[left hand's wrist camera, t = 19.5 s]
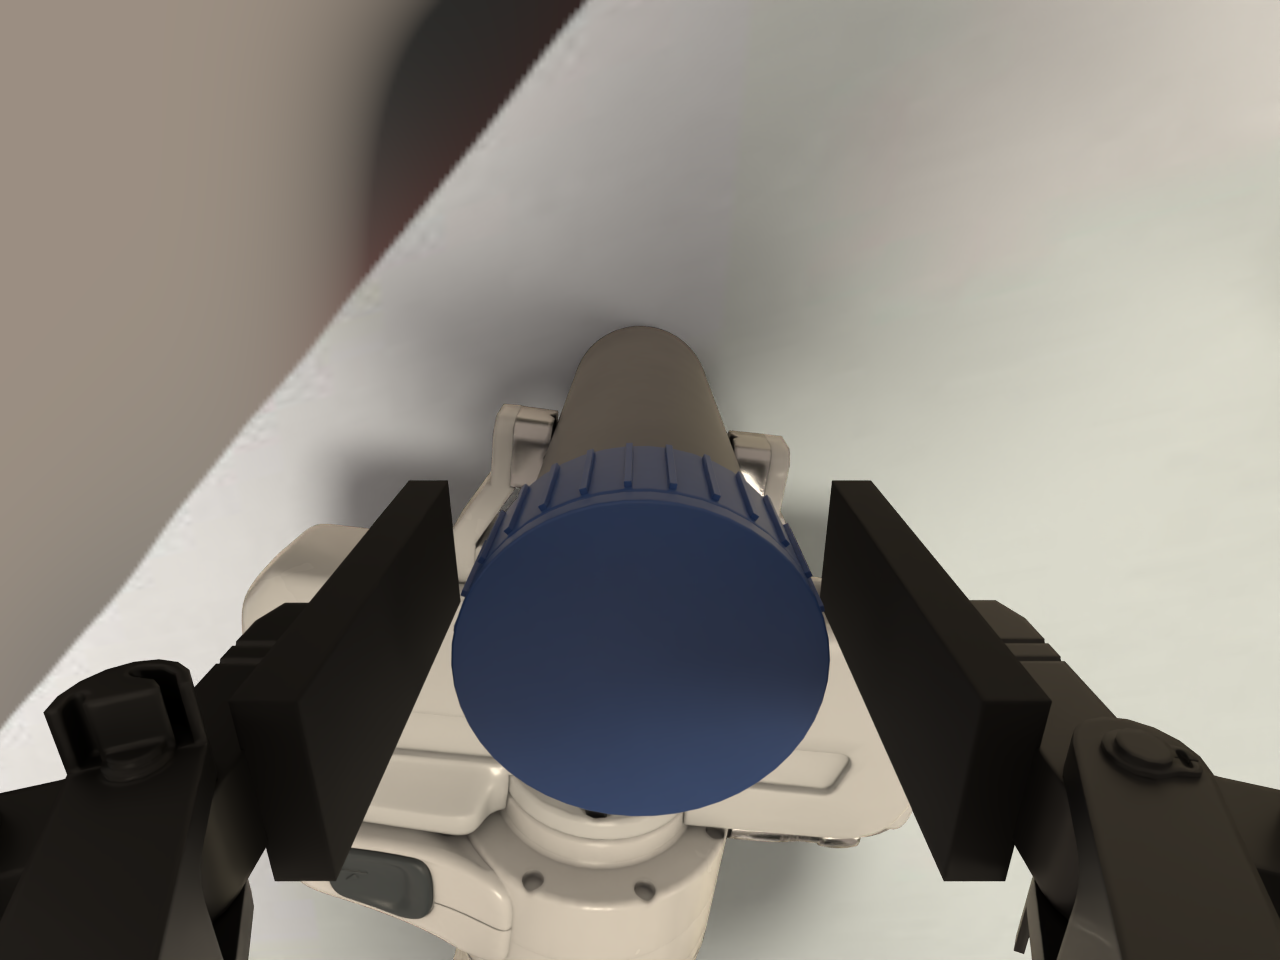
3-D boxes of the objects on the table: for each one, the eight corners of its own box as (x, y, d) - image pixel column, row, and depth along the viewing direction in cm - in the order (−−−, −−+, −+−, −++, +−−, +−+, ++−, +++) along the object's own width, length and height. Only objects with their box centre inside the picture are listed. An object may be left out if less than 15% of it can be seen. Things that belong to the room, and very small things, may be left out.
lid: (484, 716, 13) (454, 813, 11) (473, 431, 11) (435, 486, 9) (780, 728, 14) (806, 827, 11) (823, 448, 11) (864, 505, 9)
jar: (692, 311, 24) (768, 473, 10) (717, 441, 26) (814, 737, 12) (558, 342, 25) (444, 541, 10) (591, 467, 26) (534, 787, 12)
